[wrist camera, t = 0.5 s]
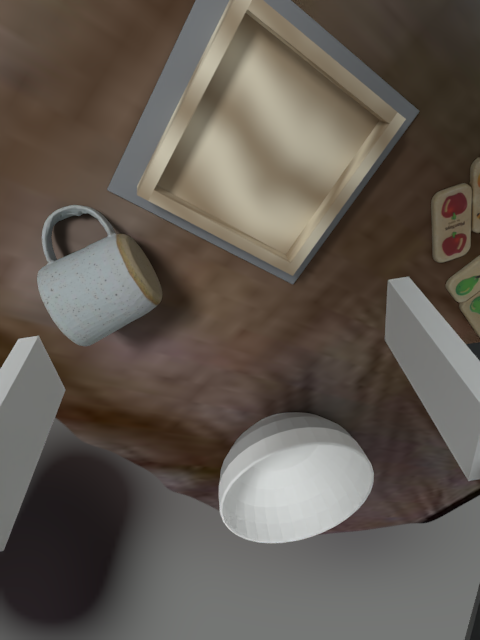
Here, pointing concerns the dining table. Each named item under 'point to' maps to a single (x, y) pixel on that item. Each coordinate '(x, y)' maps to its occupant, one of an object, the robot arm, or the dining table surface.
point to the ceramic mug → (96, 282)
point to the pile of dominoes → (459, 240)
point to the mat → (175, 82)
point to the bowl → (292, 478)
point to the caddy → (267, 138)
